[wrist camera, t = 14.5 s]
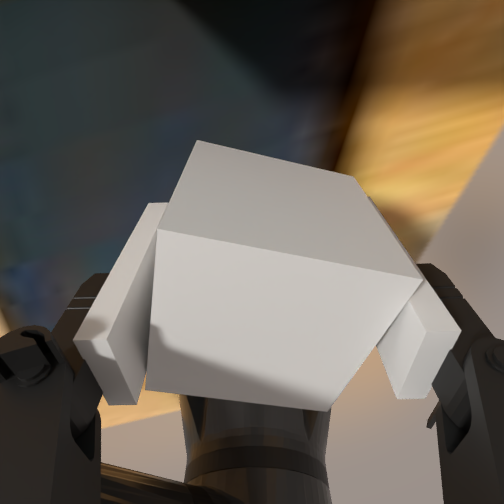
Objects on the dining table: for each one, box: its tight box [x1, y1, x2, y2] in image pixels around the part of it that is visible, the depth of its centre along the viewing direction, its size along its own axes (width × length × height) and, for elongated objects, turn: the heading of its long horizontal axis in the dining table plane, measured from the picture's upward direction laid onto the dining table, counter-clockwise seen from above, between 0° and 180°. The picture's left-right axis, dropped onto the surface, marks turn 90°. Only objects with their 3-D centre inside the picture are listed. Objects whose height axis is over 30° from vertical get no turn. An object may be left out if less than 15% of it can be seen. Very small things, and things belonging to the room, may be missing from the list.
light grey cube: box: [145, 140, 423, 412], centre depth 11 cm, size 6×6×6 cm
